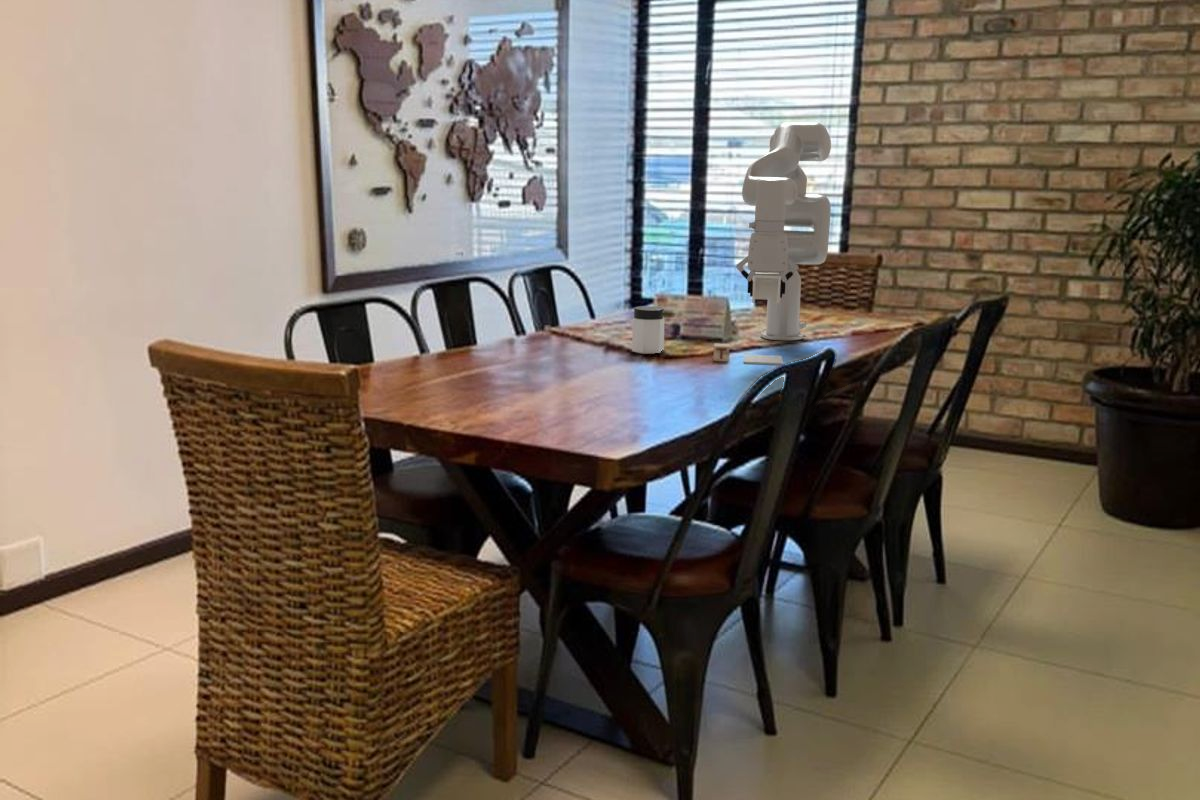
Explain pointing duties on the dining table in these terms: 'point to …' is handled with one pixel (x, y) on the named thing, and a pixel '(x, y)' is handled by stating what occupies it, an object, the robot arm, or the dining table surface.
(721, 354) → the letter cube
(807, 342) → the dining table surface
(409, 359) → the dining table surface
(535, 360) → the dining table surface
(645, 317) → the jar
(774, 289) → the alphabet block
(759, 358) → the mat
